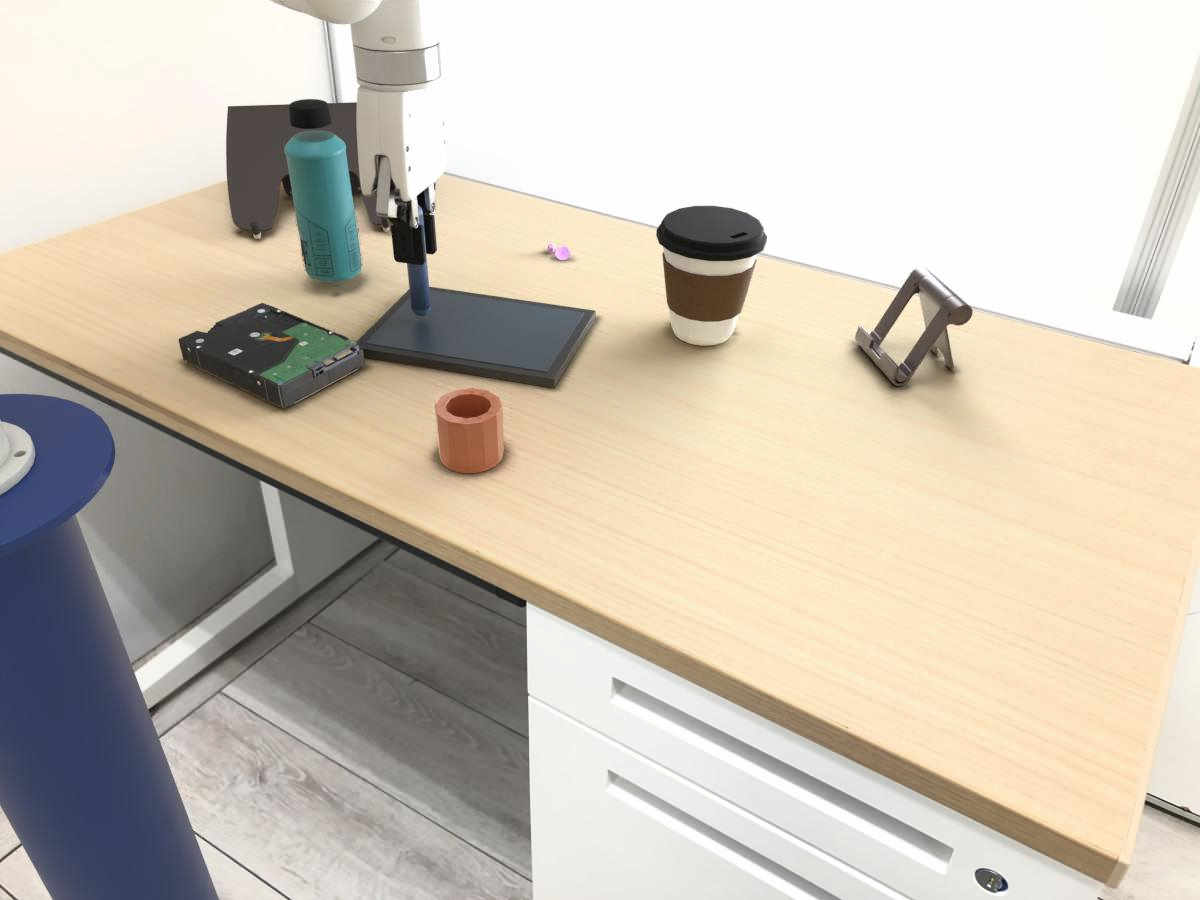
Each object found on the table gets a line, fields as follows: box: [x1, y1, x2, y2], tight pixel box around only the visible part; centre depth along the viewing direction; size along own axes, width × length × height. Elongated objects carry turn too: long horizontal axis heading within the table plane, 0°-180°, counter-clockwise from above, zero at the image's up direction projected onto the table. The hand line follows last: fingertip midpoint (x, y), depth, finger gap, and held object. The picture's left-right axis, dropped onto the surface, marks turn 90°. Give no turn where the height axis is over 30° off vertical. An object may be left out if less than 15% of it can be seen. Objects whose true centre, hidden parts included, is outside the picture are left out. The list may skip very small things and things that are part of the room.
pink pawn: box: [547, 242, 571, 261], centre depth 116 cm, size 3×2×2 cm
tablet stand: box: [854, 266, 974, 387], centre depth 94 cm, size 9×8×8 cm
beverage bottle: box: [284, 98, 363, 283], centre depth 103 cm, size 6×7×20 cm
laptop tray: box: [225, 101, 405, 240], centre depth 126 cm, size 23×23×9 cm
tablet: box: [355, 286, 597, 389], centre depth 99 cm, size 15×21×1 cm
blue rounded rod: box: [405, 204, 431, 316], centre depth 96 cm, size 2×2×12 cm
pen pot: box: [434, 387, 505, 474], centre depth 80 cm, size 5×5×5 cm
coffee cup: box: [655, 205, 768, 347], centre depth 98 cm, size 11×11×12 cm
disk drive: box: [178, 302, 365, 409], centre depth 92 cm, size 10×3×15 cm
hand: (415, 255), depth 96 cm, fingers closed on blue rounded rod, 2 cm apart
